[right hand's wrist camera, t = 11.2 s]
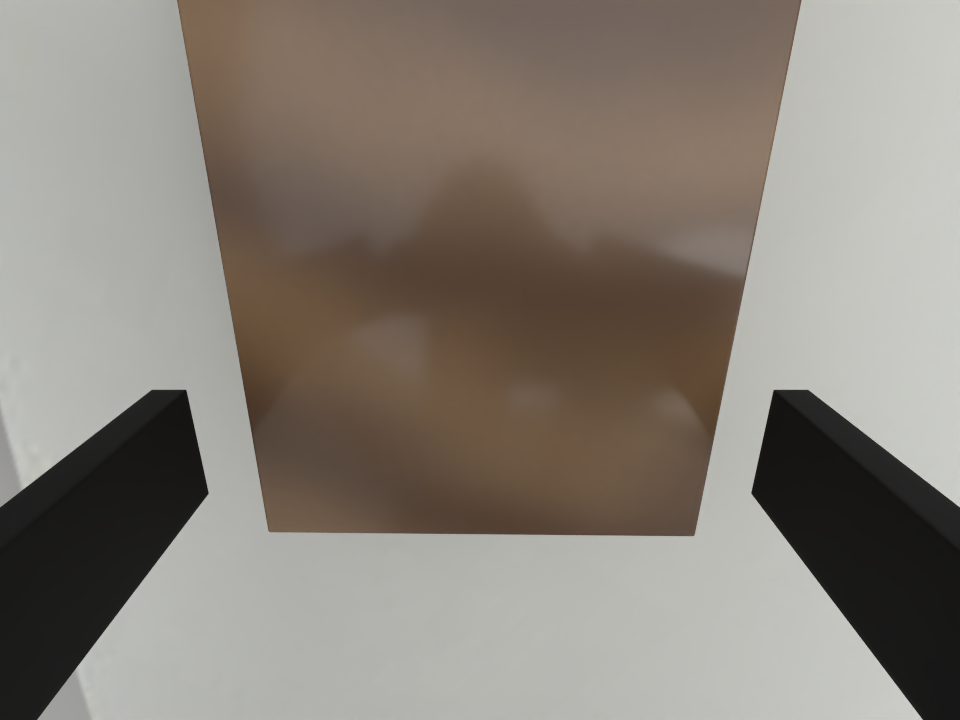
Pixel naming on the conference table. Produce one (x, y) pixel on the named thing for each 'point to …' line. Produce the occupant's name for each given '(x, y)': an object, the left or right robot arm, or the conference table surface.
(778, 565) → the conference table surface
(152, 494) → the right robot arm
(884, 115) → the conference table surface
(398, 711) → the conference table surface
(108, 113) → the conference table surface
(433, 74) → the wooden grain block
